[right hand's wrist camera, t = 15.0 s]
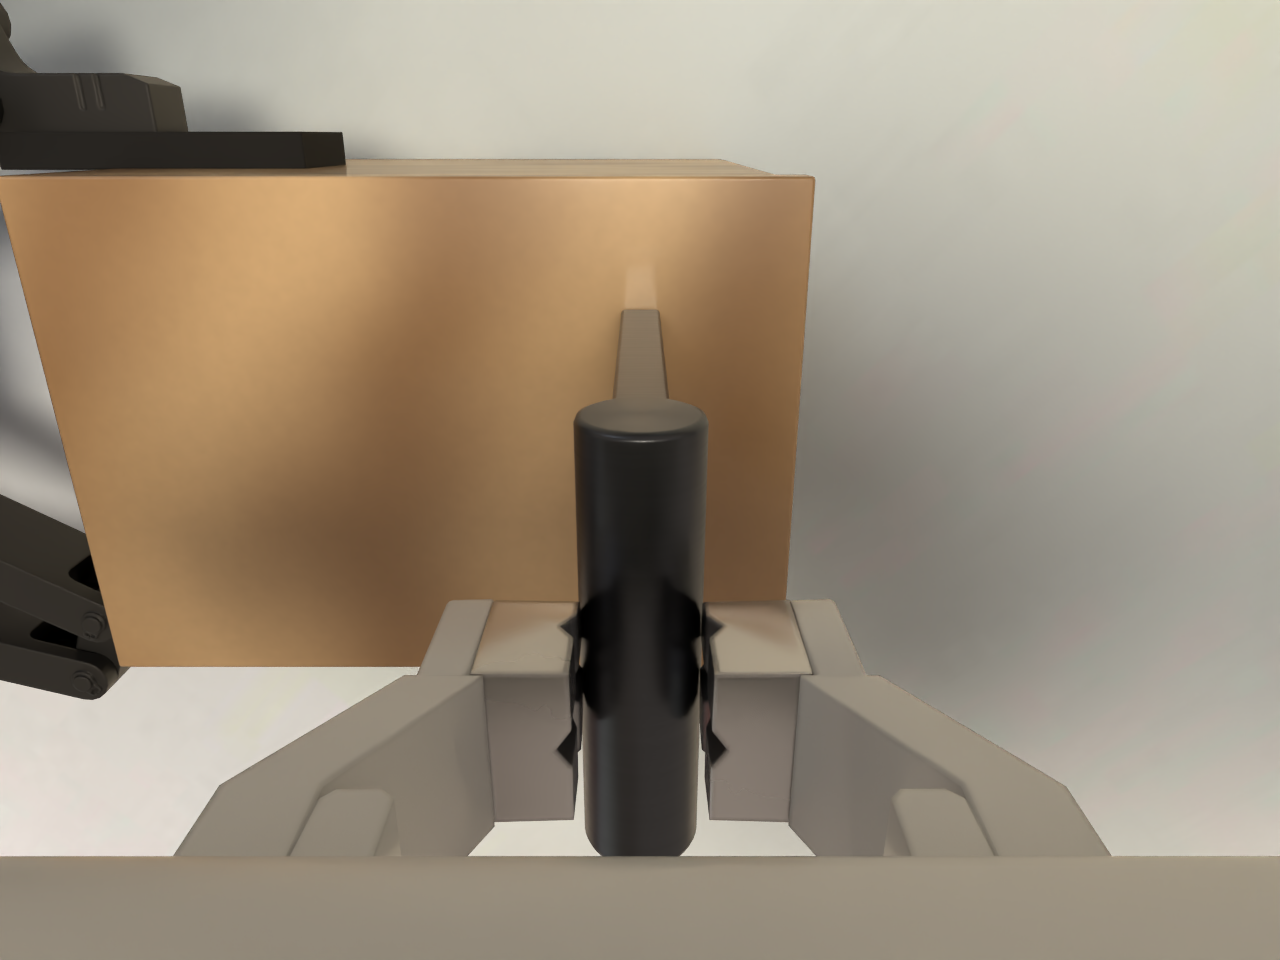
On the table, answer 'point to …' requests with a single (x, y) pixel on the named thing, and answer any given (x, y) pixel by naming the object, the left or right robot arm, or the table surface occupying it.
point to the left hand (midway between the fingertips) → (353, 379)
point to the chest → (485, 167)
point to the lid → (432, 422)
